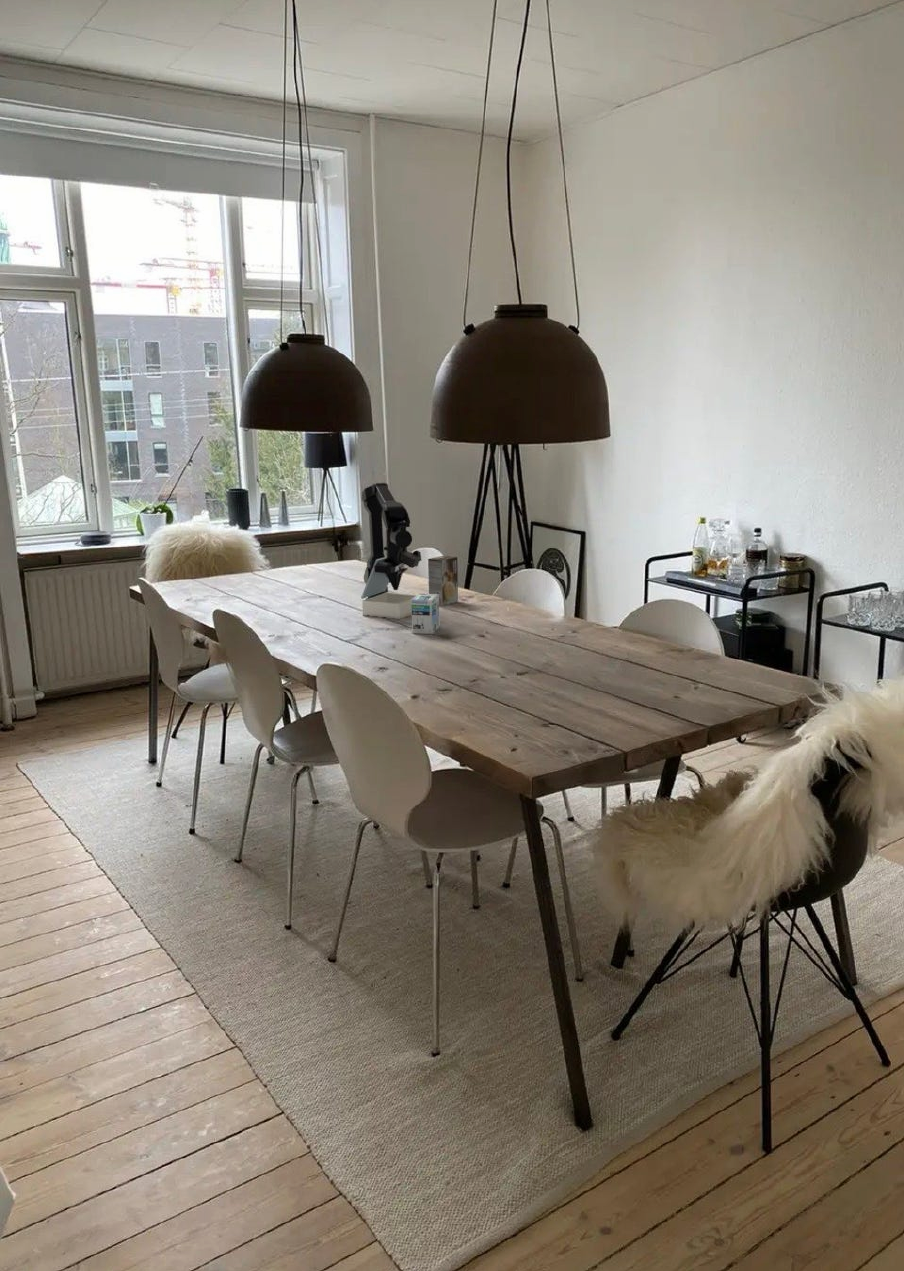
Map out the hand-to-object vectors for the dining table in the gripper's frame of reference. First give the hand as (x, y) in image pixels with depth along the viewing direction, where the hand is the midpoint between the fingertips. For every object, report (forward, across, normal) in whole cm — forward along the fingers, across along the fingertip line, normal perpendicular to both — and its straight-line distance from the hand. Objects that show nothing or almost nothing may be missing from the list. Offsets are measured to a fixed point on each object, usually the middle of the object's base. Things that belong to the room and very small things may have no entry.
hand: (395, 589), depth 329 cm
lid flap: (-4, 0, +5) cm, 7 cm away
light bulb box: (+8, -18, -21) cm, 29 cm away
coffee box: (+8, +22, -7) cm, 24 cm away
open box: (+8, 0, +1) cm, 8 cm away
